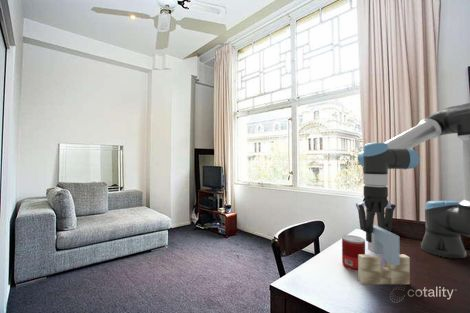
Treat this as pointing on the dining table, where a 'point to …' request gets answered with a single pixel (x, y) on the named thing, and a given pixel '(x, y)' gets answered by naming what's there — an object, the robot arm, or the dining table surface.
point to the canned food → (352, 251)
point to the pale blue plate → (387, 245)
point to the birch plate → (382, 270)
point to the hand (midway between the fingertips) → (375, 250)
